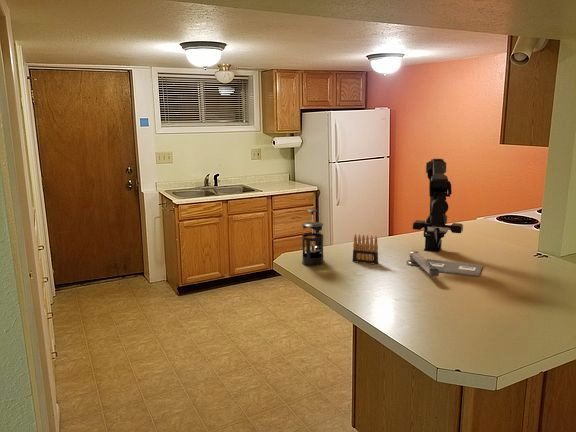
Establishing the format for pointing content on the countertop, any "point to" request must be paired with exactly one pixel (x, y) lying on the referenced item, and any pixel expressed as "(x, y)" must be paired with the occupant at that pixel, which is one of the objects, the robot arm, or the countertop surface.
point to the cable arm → (424, 263)
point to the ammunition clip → (365, 250)
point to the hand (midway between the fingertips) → (436, 247)
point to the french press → (316, 252)
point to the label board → (456, 267)
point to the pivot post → (412, 262)
